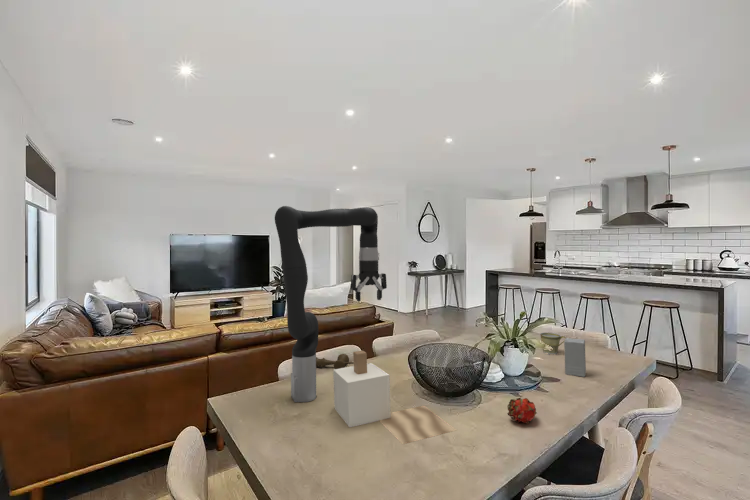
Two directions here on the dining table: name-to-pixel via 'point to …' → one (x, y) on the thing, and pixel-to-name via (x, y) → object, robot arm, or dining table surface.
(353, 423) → the white cube with peg
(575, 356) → the skincare box
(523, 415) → the dragon fruit
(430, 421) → the mat
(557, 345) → the ceramic cup
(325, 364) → the kendama
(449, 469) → the dining table surface
